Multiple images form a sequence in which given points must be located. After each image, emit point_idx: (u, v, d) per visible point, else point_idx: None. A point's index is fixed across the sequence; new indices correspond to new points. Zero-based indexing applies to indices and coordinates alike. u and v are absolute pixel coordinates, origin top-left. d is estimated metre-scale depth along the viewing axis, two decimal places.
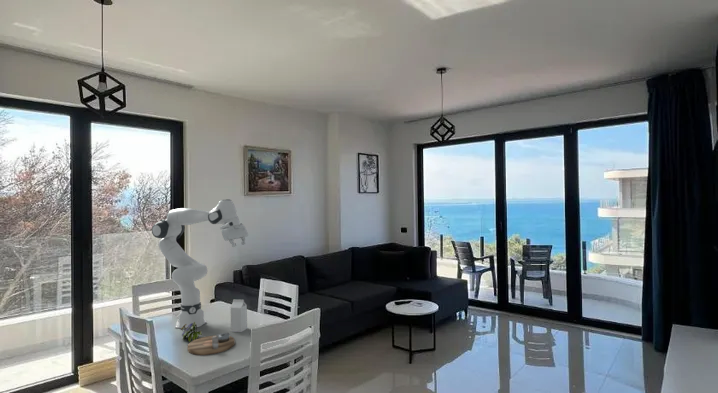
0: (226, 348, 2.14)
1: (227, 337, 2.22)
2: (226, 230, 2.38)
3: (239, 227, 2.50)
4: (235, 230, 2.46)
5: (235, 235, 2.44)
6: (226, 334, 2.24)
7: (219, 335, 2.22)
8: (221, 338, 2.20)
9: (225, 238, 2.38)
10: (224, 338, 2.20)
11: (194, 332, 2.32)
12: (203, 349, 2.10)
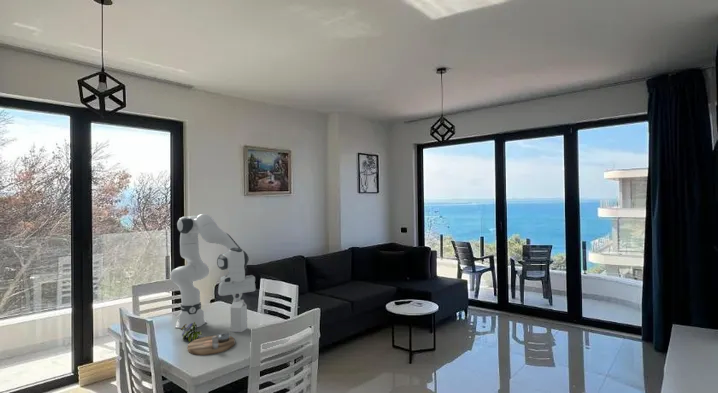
0: (226, 348, 2.14)
1: (227, 337, 2.22)
2: (220, 285, 2.22)
3: (243, 281, 2.28)
4: (235, 285, 2.26)
5: (232, 291, 2.24)
6: (226, 334, 2.24)
7: (219, 335, 2.22)
8: (221, 338, 2.20)
9: (218, 293, 2.23)
10: (224, 338, 2.20)
11: (194, 332, 2.32)
12: (203, 349, 2.10)
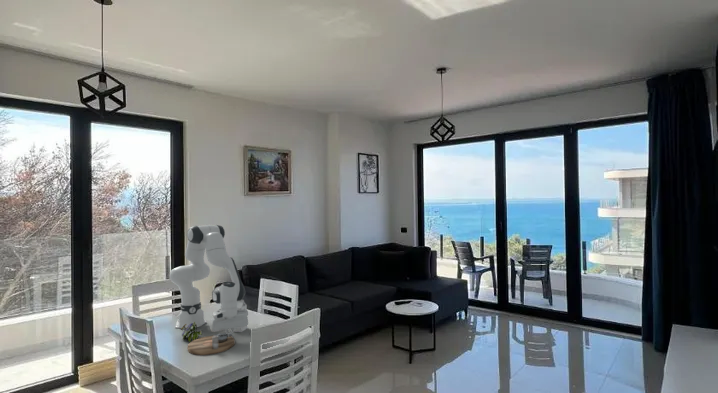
0: (226, 348, 2.14)
1: (225, 337, 2.21)
2: (212, 321, 2.19)
3: (236, 316, 2.25)
4: (228, 320, 2.23)
5: (224, 327, 2.22)
6: (224, 334, 2.23)
7: (217, 335, 2.22)
8: (219, 338, 2.19)
9: None
10: (222, 339, 2.20)
11: (194, 332, 2.32)
12: (203, 349, 2.10)
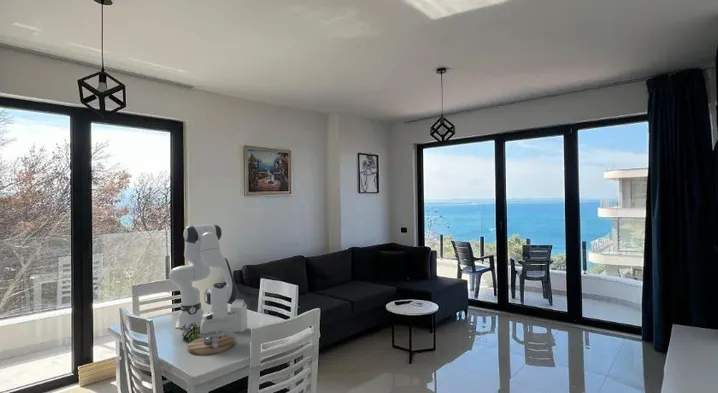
0: (226, 348, 2.14)
1: None
2: (202, 323, 2.16)
3: (226, 318, 2.22)
4: (218, 322, 2.20)
5: (214, 328, 2.19)
6: None
7: (207, 337, 2.19)
8: (209, 341, 2.16)
9: (200, 330, 2.18)
10: (211, 341, 2.17)
11: (194, 332, 2.32)
12: (203, 349, 2.10)
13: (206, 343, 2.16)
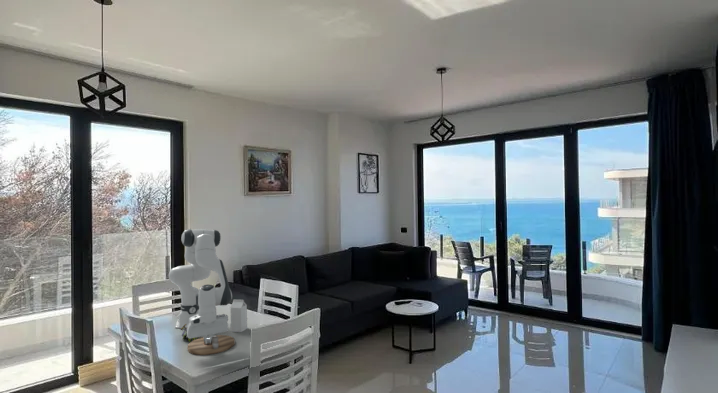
0: (226, 348, 2.14)
1: None
2: (188, 327, 2.05)
3: (214, 322, 2.11)
4: (205, 326, 2.09)
5: (202, 333, 2.07)
6: None
7: (207, 337, 2.19)
8: None
9: (187, 335, 2.06)
10: None
11: None
12: (203, 349, 2.10)
13: None
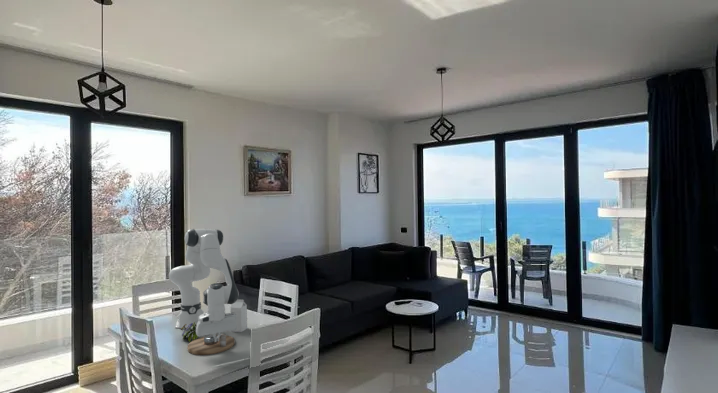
0: (232, 345, 2.18)
1: None
2: (197, 325, 2.07)
3: (223, 320, 2.13)
4: (214, 324, 2.11)
5: (211, 331, 2.10)
6: None
7: (208, 338, 2.18)
8: (212, 340, 2.17)
9: (196, 333, 2.08)
10: (214, 340, 2.18)
11: (194, 332, 2.32)
12: (211, 348, 2.11)
13: (209, 343, 2.16)
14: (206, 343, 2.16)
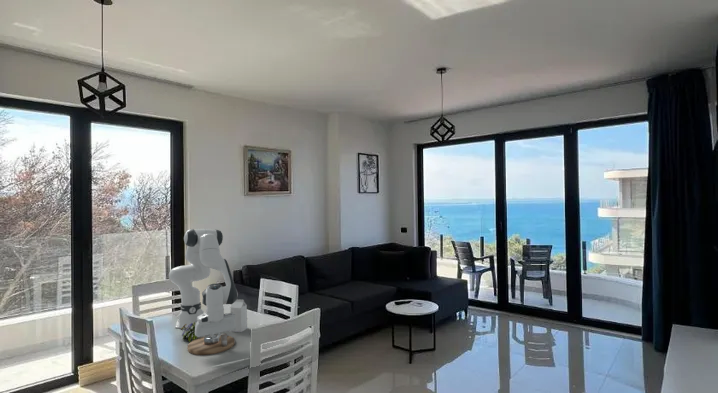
0: (233, 344, 2.20)
1: None
2: (196, 325, 2.07)
3: (222, 320, 2.13)
4: (213, 325, 2.11)
5: (210, 331, 2.09)
6: (214, 336, 2.21)
7: (208, 338, 2.18)
8: (212, 340, 2.17)
9: (195, 334, 2.08)
10: None
11: (194, 332, 2.32)
12: (213, 348, 2.11)
13: (209, 343, 2.16)
14: (207, 343, 2.16)
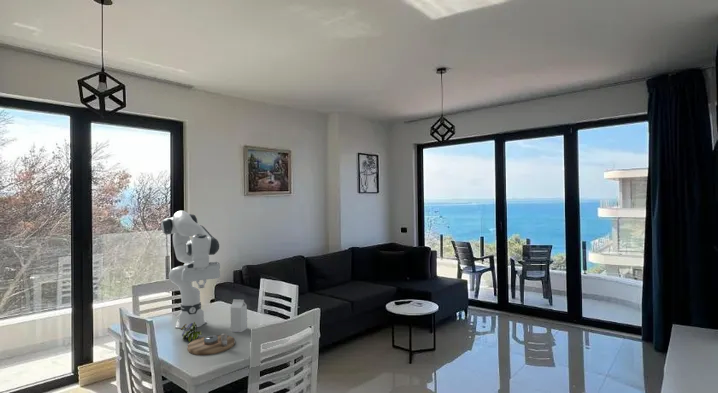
0: (233, 344, 2.20)
1: (217, 338, 2.20)
2: (183, 271, 2.20)
3: (207, 268, 2.26)
4: (199, 271, 2.24)
5: (195, 278, 2.23)
6: (214, 336, 2.21)
7: (208, 338, 2.18)
8: (212, 340, 2.17)
9: (181, 279, 2.21)
10: (215, 340, 2.18)
11: (194, 332, 2.32)
12: (213, 348, 2.11)
13: (209, 343, 2.16)
14: (207, 343, 2.16)
